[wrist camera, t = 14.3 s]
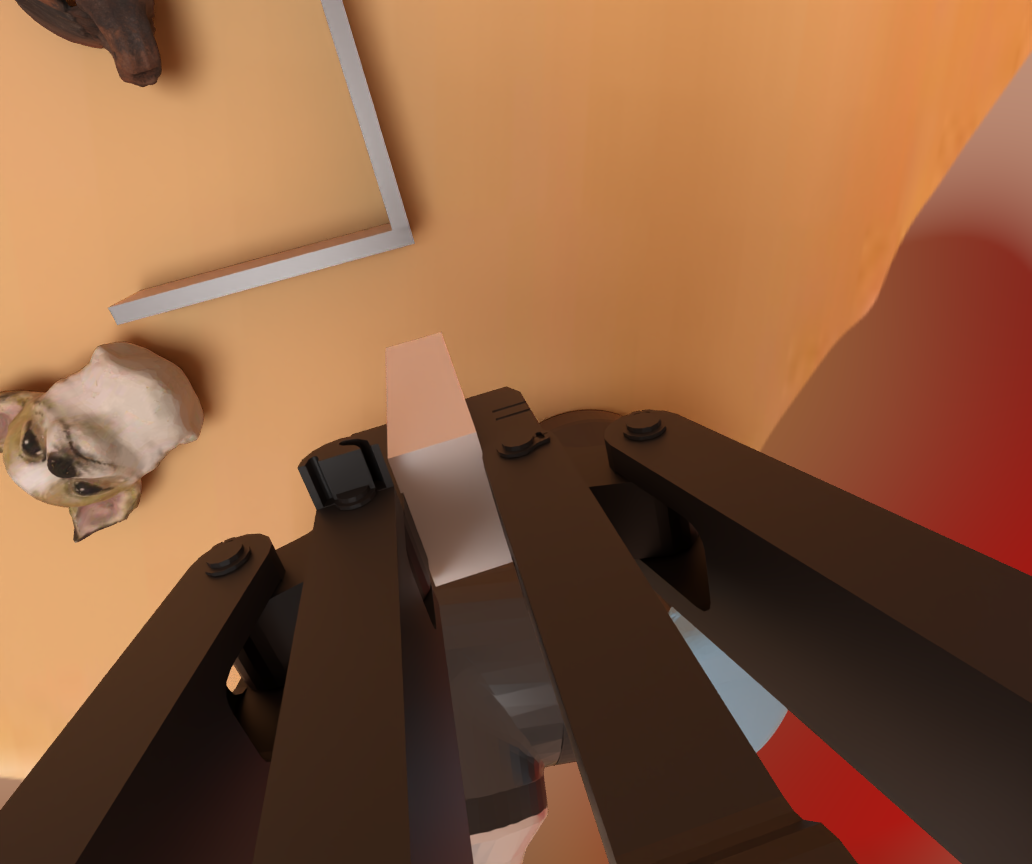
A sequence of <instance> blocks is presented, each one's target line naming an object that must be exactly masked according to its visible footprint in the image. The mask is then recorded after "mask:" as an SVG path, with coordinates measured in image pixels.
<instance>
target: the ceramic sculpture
mask: <svg viewBox="0 0 1032 864" xmlns="http://www.w3.org/2000/svg"><path fill="white" fill-rule="evenodd" d="M203 420H204V414H203V410H202V407H201V405H200V401H199V398H198V397H197V395H196V393H195V392H194V390H193V388H192V386H191V384H190V382H189V380H188V378H187V377H186V375H185V374H184V372H183V371H182V369H181V368H179V367H178V366H177V365H175V364H174V363H172V362H170V361H168V360H166V359H165V358H163V357H161V356H159V355H157V354H155V353H154V352H152V351H150V350H148V349H147V348H145V347H141V346H137V345H135V344H133V343H128V342H115V343H110V344H103V345H100V346H98V347H97V348H96V349H95V351H94V353H93V355H92V357H91V360H90V362H89V363H88V364H87V365H86V366H85V367H84V368H83V369H81V370H80V371H78V372H76V373H74V374H72V375H70V376H69V377H67V378H64V379H60V380H58V381H57V382H56V383H55V384H54V385H53V386H52V387H51V388H50V389H49V390H48V391H47V392H46V393H44V392H36V391H24V390H16V391H3V392H0V453H3V462H4V464H5V467H6V470H7V473H8V474H9V475H10V477H11V478H12V480H13V481H14V482H15V483H16V484H17V485H18V486H19V487H20V488H22V489H23V490H24V491H25V492H27V493H28V494H29V495H31V496H32V497H34V498H35V499H37V500H40V501H42V502H44V503H47V504H50V505H55V506H60V507H69V512H70V515H71V516H72V520H73V524H74V528H75V529H74V538H73V540H74V542H75V543H77V542H79V541H81V540H83V539H85V538H86V537H88V536H90V535H91V534H93V533H94V532H96V531H99V530H101V529H104V528H106V527H109V526H111V525H114V524H116V523H117V522H121V521H123V520H125V519H127V518H128V516H129V514H130V513H131V512H132V511H133V510H134V509H135V508H137V507H138V504H139V501H140V497H141V492H142V482H141V477H143V476H144V475H146V474H147V473H149V472H150V471H152V470H154V469H155V468H156V467H157V466H158V465H159V463H160V461H161V460H162V459H163V458H164V457H165V456H166V455H167V453H168V452H169V451H170V450H171V449H174V448H175V447H177V446H178V445H179V444H186V443H189V442H192V441H195V440H197V439H198V437H199V435H200V432H201V428H202V425H203Z"/></svg>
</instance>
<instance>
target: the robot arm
mask: <svg viewBox="0 0 1032 864" xmlns="http://www.w3.org/2000/svg"><path fill="white" fill-rule="evenodd" d="M386 397H387V424H385V425H382V426H379V427H375V428H372V429H369V430H365V431H362V432H359V433H355V434H352V435H351V437H346V438H341V439H338V440H336V441H333V442H330V443H328V444H325V445H323V446H322V447H320V448H318V449H316V450H314V451H313V452H311V453H310V454H309V455H308V456H306V457H305V458H304V459H303V460H302V461H301V463H300V464H299V466H298V470H299V472H300V474H301V477H302V479H303V481H304V483H305V485H306V488H307V490H308V492H309V494H310V496H311V499H312V501H313V503H314V505H315V507H316V510H317V511H316V516H315V522H314V527H313V530H312V531H311V532H309V533H308V534H306V535H304V536H302V537H301V538H299V539H297V540H295V541H293V542H291V543H289V544H287V545H285V546H283V547H281V548H279V549H277V550H275V548H274V546H273V544H272V542H271V540H270V538H269V537H268V536H265V535H262V534H247V535H243V536H240V537H236V538H235V537H233V538H230V539H227V540H225V541H224V543H223V542H221V543H219V544H217V545H215V546H214V547H212V549H211V550H209V551H208V552H207V553H205V554H204V555H202V556H201V557H200V558H199V559H198V560H197V561H196V562H195V563H194V564H193V565H192V566H191V567H190V568H189V569H188V570H187V572H186V573H185V574H184V575H183V577H182V578H181V579H180V581H179V582H178V583H177V584H176V586H175V587H174V588H173V589H172V591H171V592H170V593H169V595H168V596H167V597H166V598H165V600H164V601H163V602H162V604H161V605H160V606H159V607H158V609H157V610H156V611H155V613H154V614H153V615H152V616H151V618H150V619H149V620H148V622H147V623H146V624H145V625H144V627H143V628H142V629H141V631H140V632H139V633H138V634H137V636H136V637H135V638H134V639H133V641H132V642H131V643H130V645H129V646H128V647H127V648H126V650H125V651H124V652H123V654H122V655H121V656H120V657H119V659H118V660H117V661H116V663H115V664H114V665H113V666H112V668H111V669H110V670H109V672H108V673H107V674H106V675H105V677H104V678H103V679H102V681H101V682H100V683H99V684H98V686H97V687H96V688H95V689H94V691H93V692H92V693H91V695H90V696H89V697H88V698H87V700H86V701H85V702H84V704H83V705H82V706H81V707H80V709H79V710H78V711H77V713H76V714H75V715H74V716H73V718H72V719H71V720H70V722H69V723H68V724H67V725H66V727H65V728H64V729H63V731H62V732H61V733H60V734H59V736H58V737H57V738H56V739H55V741H54V742H53V743H52V745H51V746H50V747H49V748H48V750H47V751H46V752H45V754H44V755H43V756H42V757H41V759H40V760H39V761H38V763H37V764H36V765H35V766H34V768H33V769H32V770H31V772H30V773H29V774H28V775H27V777H26V778H25V779H24V781H23V782H22V783H21V784H20V786H19V787H18V788H17V790H16V791H15V792H14V793H13V795H12V796H11V797H10V798H9V800H8V801H7V802H6V804H5V805H4V806H3V808H2V809H1V810H0V864H523V858H524V855H525V851H526V848H527V846H528V845H529V843H530V842H531V840H532V838H533V837H534V835H535V834H536V832H537V831H538V829H539V828H540V826H541V824H542V823H543V821H544V820H545V818H546V816H547V814H548V806H547V797H546V790H545V782H544V768H545V767H548V766H555V765H559V764H565V763H570V762H577V764H578V767H579V771H580V774H581V777H582V780H583V783H584V786H585V789H586V792H587V795H588V799H589V802H590V805H591V808H592V811H593V814H594V817H595V820H596V823H597V827H598V830H599V833H600V836H601V839H602V842H603V845H604V848H605V851H606V854H607V858H608V861H609V864H858V863H857V862H856V861H855V859H854V858H853V857H852V856H851V854H850V853H849V852H848V850H847V849H846V848H845V846H844V845H843V844H842V842H841V841H840V840H839V839H838V838H837V837H836V836H835V835H834V834H833V833H831V831H829V830H828V829H827V828H826V827H825V826H824V825H823V824H822V823H819V822H813V821H807V820H803V819H802V818H801V817H800V816H799V815H798V814H796V813H795V812H794V811H793V809H792V808H791V806H790V805H789V804H788V802H787V801H786V799H785V798H784V797H783V795H782V793H781V792H780V790H779V789H778V787H777V786H776V784H775V782H774V781H773V779H772V778H771V776H770V775H769V773H768V771H767V770H766V768H765V766H764V765H763V763H762V762H761V760H760V759H759V757H758V756H757V754H756V752H757V751H759V750H760V749H761V748H762V747H763V746H764V745H765V744H766V743H767V741H768V740H769V739H770V738H771V737H772V735H773V734H774V733H775V731H776V730H777V728H778V727H779V725H780V723H781V722H782V720H783V718H784V716H785V715H786V713H787V711H788V710H789V711H791V712H792V713H793V714H794V715H795V716H796V717H797V718H798V719H799V720H801V721H802V722H803V723H804V724H805V725H806V726H807V727H808V728H810V729H811V730H812V731H813V732H814V733H815V734H816V735H818V736H819V737H820V738H821V739H822V740H823V741H824V742H825V743H827V744H828V745H829V746H830V747H831V748H832V749H833V750H834V751H836V752H837V753H838V754H839V755H840V756H841V757H842V758H843V759H845V760H846V761H847V762H848V763H849V764H850V765H851V766H853V767H854V768H855V769H856V770H857V771H858V772H859V773H860V774H861V775H863V776H864V777H865V778H866V779H867V780H868V781H869V782H870V783H872V784H873V785H874V786H875V787H876V788H877V789H878V790H880V791H881V792H882V793H883V794H884V795H885V796H887V797H888V798H889V799H890V800H891V801H892V802H893V803H894V804H895V805H897V806H898V807H899V808H900V809H901V810H902V811H903V812H904V813H905V814H907V815H908V816H909V817H910V818H911V819H912V820H914V822H916V823H917V824H918V825H919V826H920V827H921V828H922V829H923V830H925V831H926V832H927V833H928V834H929V835H930V836H931V837H933V838H934V839H935V840H936V841H937V842H938V843H939V844H940V845H942V846H943V847H944V848H945V849H946V850H947V851H948V852H949V853H951V854H952V855H953V856H954V857H955V858H956V859H957V860H958V861H960V862H961V863H962V864H1032V576H1030V575H1028V574H1025V573H1023V572H1021V571H1019V570H1017V569H1015V568H1012V567H1010V566H1008V565H1006V564H1004V563H1001V562H999V561H997V560H995V559H993V558H991V557H988V556H986V555H984V554H982V553H980V552H977V551H975V550H973V549H971V548H969V547H966V546H964V545H962V544H960V543H958V542H955V541H953V540H951V539H949V538H947V537H945V536H942V535H940V534H938V533H936V532H933V531H931V530H929V529H927V528H925V527H923V526H921V525H918V524H916V523H914V522H912V521H910V520H907V519H905V518H903V517H901V516H899V515H896V514H894V513H892V512H890V511H888V510H886V509H883V508H881V507H879V506H877V505H875V504H872V503H870V502H868V501H866V500H864V499H861V498H859V497H857V496H855V495H853V494H851V493H848V492H846V491H844V490H842V489H840V488H837V487H835V486H833V485H831V484H829V483H826V482H824V481H822V480H820V479H818V478H816V477H813V476H811V475H809V474H807V473H805V472H802V471H800V470H798V469H796V468H794V467H791V466H789V465H787V464H785V463H783V462H781V461H778V460H776V459H774V458H772V457H769V456H767V455H765V454H763V453H761V452H759V451H756V450H754V449H752V448H750V447H748V446H746V445H743V444H741V443H739V442H737V441H735V440H732V439H730V438H728V437H726V436H724V435H721V434H719V433H717V432H715V431H713V430H711V429H708V428H706V427H704V426H702V425H700V424H697V423H695V422H693V421H691V420H689V419H686V418H684V417H682V416H680V415H678V414H675V413H671V412H667V411H655V410H642V412H640V411H636V412H632V413H631V414H629V415H626V416H621V415H618V414H615V413H611V412H606V411H599V410H581V411H573V412H568V413H564V414H561V415H558V416H555V417H552V418H550V419H547V420H545V421H543V422H541V423H540V424H539V423H538V421H537V419H536V418H535V416H534V414H533V413H532V411H531V410H530V408H529V406H528V404H527V403H526V401H525V399H524V398H523V396H522V394H521V393H520V392H519V391H516V390H514V389H511V388H509V387H503V388H500V389H497V390H493V391H490V392H487V393H483V394H480V395H477V396H473V397H470V398H467V399H465V398H464V395H463V392H462V390H461V387H460V384H459V381H458V378H457V375H456V373H455V370H454V367H453V364H452V361H451V358H450V355H449V353H448V350H447V347H446V344H445V341H444V338H443V335H442V333H441V332H439V333H436V334H432V335H429V336H425V337H422V338H418V339H415V340H411V341H408V342H404V343H401V344H397V345H394V346H391V347H387V348H386ZM233 665H234V666H235V668H236V670H237V671H238V673H239V674H240V676H241V679H240V681H239V683H238V685H237V687H236V689H235V690H234V691H233V692H231V691H230V690H229V689H228V687H227V686H226V682H227V679H228V676H229V673H230V670H231V667H232V666H233Z"/></svg>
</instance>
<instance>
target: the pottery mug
mask: <svg viewBox="0 0 1032 864" xmlns="http://www.w3.org/2000/svg"><path fill="white" fill-rule="evenodd" d="M15 1H16V2H17V3H18V5H19V6H20V7H21V8H22V9H23V10H24V11H25V12H26V13H27V14H28V15H29V16H31V17H32V18H33V19H34V20H35V21H36V22H37V23H39V24H40V25H42V26H43V27H45V28H46V29H48V30H49V31H51V32H53V33H54V34H56V35H58V36H60V37H62V38H64V39H66V40H68V41H71V42H74V43H79V44H82V45H85V46H90V47H94V48H103V47H104V48H106V49H107V50H108V51H109V52H110V53H111V55H112V56H113V58H114V60H115V64H116V68H117V71H118V73H119V76H120V77H121V79H122V80H123V81H124V82H127V83H132V84H135V85H138V86H140V87H145V86H147V85H153V84H155V83H156V82H157V79H158V77H159V76H160V75H161V71H162V69H161V59H160V54H159V50H158V47H157V44H156V41H155V38H154V36H153V35H154V32H155V27H154V23H153V20H152V18H153V17H154V16H155V15H154V0H76V4H77V6H74V7H71V6H69V5H68V4H67V2H66V0H15Z"/></svg>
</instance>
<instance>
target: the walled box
mask: <svg viewBox="0 0 1032 864" xmlns="http://www.w3.org/2000/svg"><path fill="white" fill-rule="evenodd" d="M321 3H322V6H323V9H324V12H325V16H326V19H327V22H328V25H329V28H330V32H331V35H332V38H333V41H334V44H335V48H336V51H337V54H338V57H339V61H340V64H341V67H342V70H343V73H344V77H345V80H346V83H347V86H348V89H349V93H350V96H351V99H352V102H353V105H354V109H355V112H356V115H357V118H358V121H359V125H360V128H361V131H362V134H363V138H364V141H365V144H366V147H367V150H368V154H369V157H370V160H371V163H372V166H373V170H374V173H375V176H376V179H377V182H378V186H379V189H380V192H381V195H382V198H383V202H384V205H385V208H386V211H387V214H388V218H389V221H390V223H388V224H384V225H380V226H377V227H373V228H369V229H365V230H362V231H358V232H354V233H351V234H347V235H343V236H340V237H336V238H332V239H329V240H325V241H321V242H317V243H314V244H310V245H306V246H303V247H299V248H295V249H292V250H288V251H284V252H280V253H277V254H273V255H269V256H266V257H262V258H258V259H255V260H251V261H247V262H243V263H240V264H236V265H232V266H229V267H225V268H221V269H218V270H214V271H210V272H207V273H203V274H199V275H195V276H192V277H188V278H184V279H181V280H177V281H173V282H170V283H166V284H162V285H158V286H155V287H151V288H147V289H144V290H140V291H138V292H136V293H135V294H133V295H131V296H129V297H127V298H125V299H123V300H121V301H120V302H118V303H116V304H114V305H112V306H110V307H108V309H109V310H110V312H111V314H112V316H113V318H114V320H115V321H116V323H117V325H119V324H123V323H127V322H130V321H134V320H138V319H141V318H145V317H149V316H152V315H156V314H159V313H163V312H167V311H170V310H174V309H178V308H181V307H185V306H189V305H192V304H196V303H200V302H203V301H207V300H210V299H214V298H218V297H221V296H225V295H229V294H232V293H236V292H240V291H243V290H247V289H251V288H254V287H258V286H262V285H265V284H269V283H272V282H276V281H280V280H283V279H287V278H291V277H294V276H298V275H302V274H305V273H309V272H313V271H316V270H320V269H324V268H327V267H331V266H334V265H338V264H342V263H345V262H349V261H353V260H356V259H360V258H364V257H367V256H371V255H375V254H378V253H382V252H386V251H389V250H393V249H396V248H400V247H404V246H407V245H411V244H415V242H414V239H413V236H412V232H411V229H410V226H409V222H408V219H407V216H406V212H405V209H404V206H403V202H402V199H401V196H400V192H399V189H398V186H397V182H396V179H395V175H394V172H393V169H392V165H391V162H390V159H389V155H388V152H387V149H386V145H385V142H384V139H383V135H382V132H381V129H380V125H379V122H378V119H377V115H376V112H375V109H374V105H373V102H372V98H371V95H370V92H369V88H368V85H367V82H366V78H365V75H364V72H363V68H362V65H361V62H360V58H359V55H358V52H357V48H356V45H355V42H354V38H353V35H352V32H351V28H350V25H349V21H348V18H347V15H346V11H345V8H344V5H343V1H342V0H321Z"/></svg>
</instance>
